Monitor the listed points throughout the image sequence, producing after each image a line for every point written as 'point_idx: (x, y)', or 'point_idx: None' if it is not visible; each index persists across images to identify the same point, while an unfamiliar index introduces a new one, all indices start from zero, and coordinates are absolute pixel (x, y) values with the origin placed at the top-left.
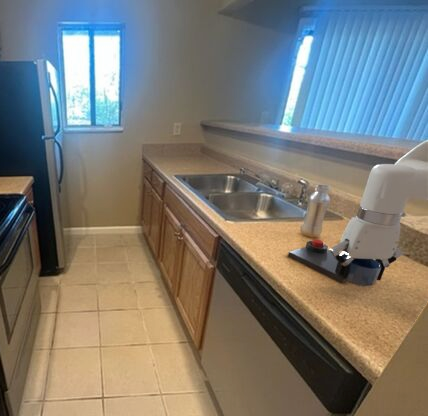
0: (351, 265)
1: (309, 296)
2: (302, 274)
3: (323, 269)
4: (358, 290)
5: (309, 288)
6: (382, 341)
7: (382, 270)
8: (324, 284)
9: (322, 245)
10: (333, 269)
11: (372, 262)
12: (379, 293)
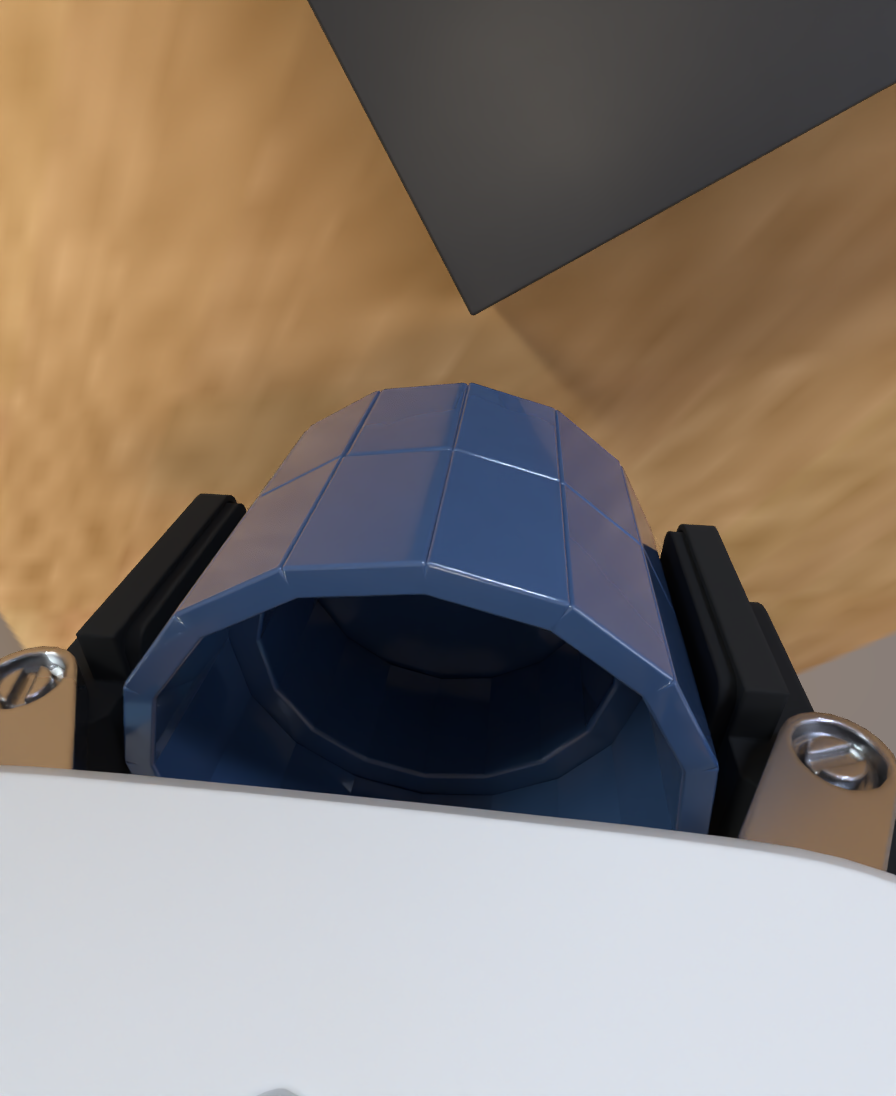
0: None
1: (42, 533)
2: (41, 87)
3: (318, 17)
4: (574, 423)
5: (67, 418)
6: None
7: None
8: (253, 331)
9: None
10: (471, 38)
11: (665, 742)
12: (765, 462)
